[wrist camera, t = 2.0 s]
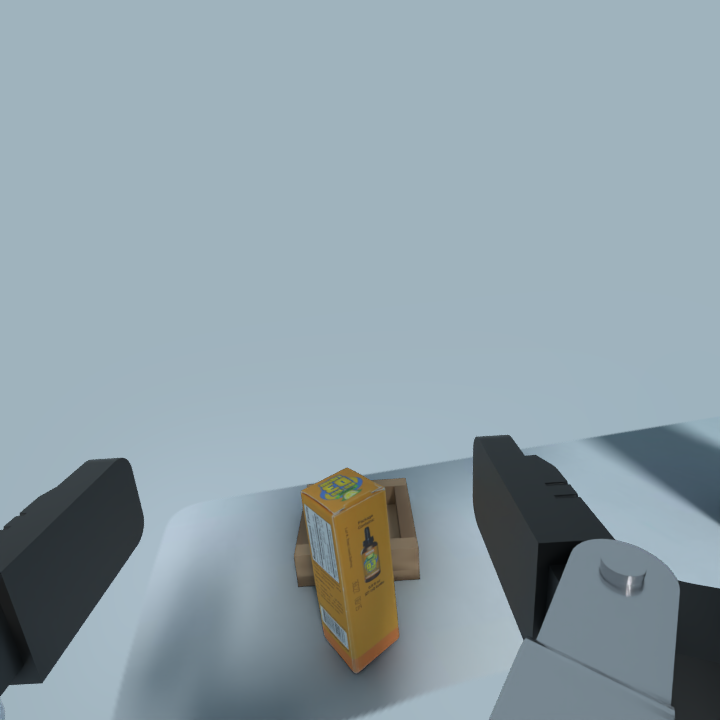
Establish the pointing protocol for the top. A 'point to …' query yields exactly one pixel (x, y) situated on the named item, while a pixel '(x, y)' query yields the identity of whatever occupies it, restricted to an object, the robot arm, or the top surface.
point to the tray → (399, 531)
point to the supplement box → (352, 565)
